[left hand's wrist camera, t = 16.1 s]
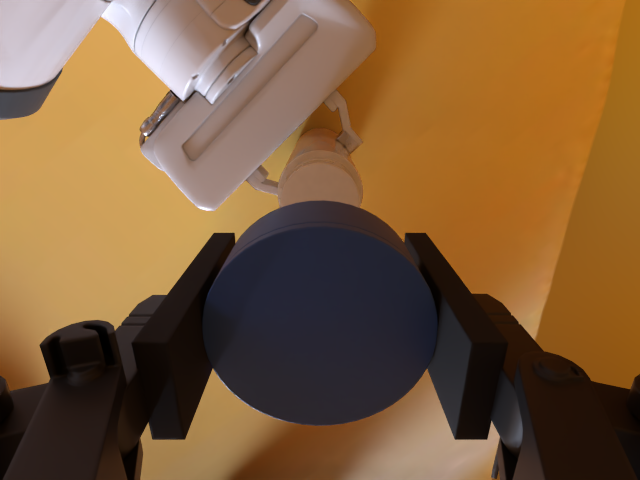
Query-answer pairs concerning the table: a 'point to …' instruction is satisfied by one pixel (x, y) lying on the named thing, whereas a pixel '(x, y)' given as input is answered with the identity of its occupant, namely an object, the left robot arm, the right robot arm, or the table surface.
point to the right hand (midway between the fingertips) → (327, 174)
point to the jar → (320, 171)
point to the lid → (319, 315)
